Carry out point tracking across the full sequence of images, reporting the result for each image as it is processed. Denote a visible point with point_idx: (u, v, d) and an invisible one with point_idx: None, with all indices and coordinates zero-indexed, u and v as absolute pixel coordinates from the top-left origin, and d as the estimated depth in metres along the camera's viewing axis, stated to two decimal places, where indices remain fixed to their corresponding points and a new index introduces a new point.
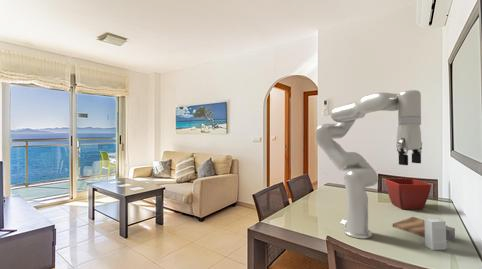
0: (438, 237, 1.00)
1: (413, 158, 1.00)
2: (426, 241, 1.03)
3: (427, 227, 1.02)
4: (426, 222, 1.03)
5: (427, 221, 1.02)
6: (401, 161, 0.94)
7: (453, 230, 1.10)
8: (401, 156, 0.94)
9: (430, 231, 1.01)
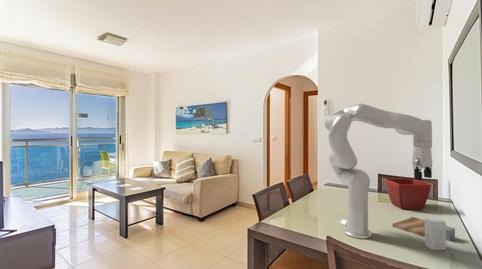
0: (438, 237, 1.00)
1: (425, 173, 1.23)
2: (426, 241, 1.03)
3: (427, 227, 1.02)
4: (426, 222, 1.03)
5: (427, 221, 1.02)
6: (416, 176, 1.18)
7: (453, 230, 1.10)
8: (416, 172, 1.17)
9: (430, 231, 1.01)
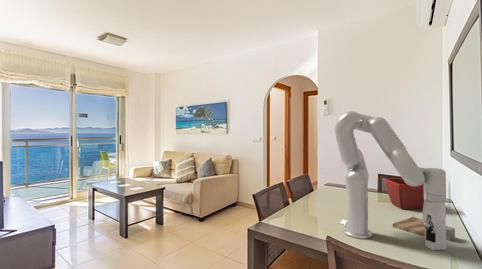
0: (438, 237, 1.00)
1: None
2: (426, 241, 1.03)
3: None
4: None
5: None
6: (429, 238, 1.00)
7: (453, 230, 1.10)
8: (429, 233, 1.00)
9: None
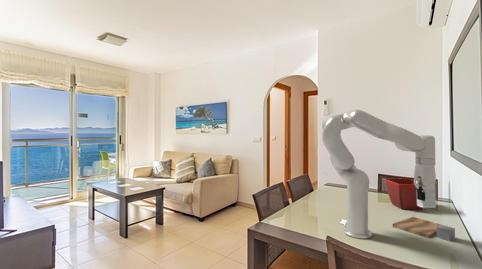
0: (428, 196, 1.12)
1: None
2: (418, 201, 1.15)
3: None
4: None
5: None
6: (419, 197, 1.12)
7: (453, 230, 1.10)
8: (419, 193, 1.12)
9: None
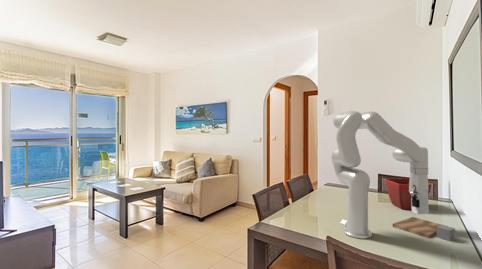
0: (421, 203, 1.21)
1: None
2: (412, 207, 1.24)
3: None
4: None
5: None
6: (414, 204, 1.21)
7: (453, 230, 1.10)
8: (414, 200, 1.21)
9: None
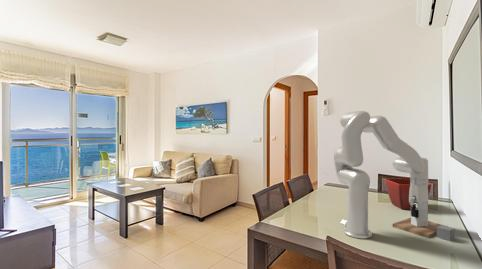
0: (421, 216, 1.21)
1: None
2: (412, 220, 1.24)
3: None
4: None
5: None
6: (413, 214, 1.21)
7: (453, 230, 1.10)
8: (413, 210, 1.21)
9: None
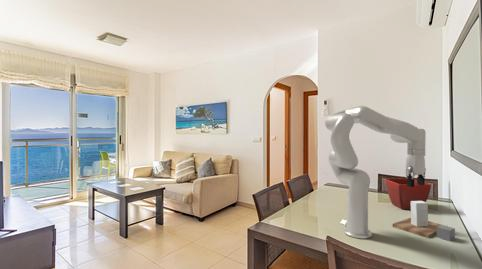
0: (421, 216, 1.21)
1: (418, 181, 1.26)
2: (412, 220, 1.24)
3: (412, 208, 1.23)
4: (412, 204, 1.24)
5: (412, 203, 1.23)
6: (409, 183, 1.21)
7: (453, 230, 1.10)
8: (409, 180, 1.21)
9: (414, 211, 1.22)
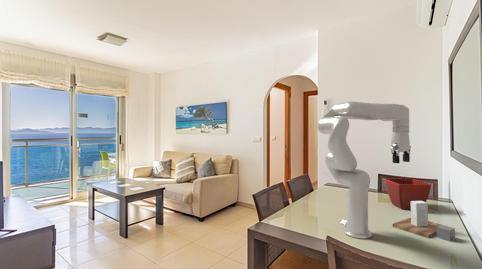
0: (421, 216, 1.21)
1: (404, 158, 1.31)
2: (412, 220, 1.24)
3: (412, 208, 1.23)
4: (412, 204, 1.24)
5: (412, 203, 1.23)
6: (394, 160, 1.25)
7: (453, 230, 1.10)
8: (394, 156, 1.25)
9: (414, 211, 1.22)
